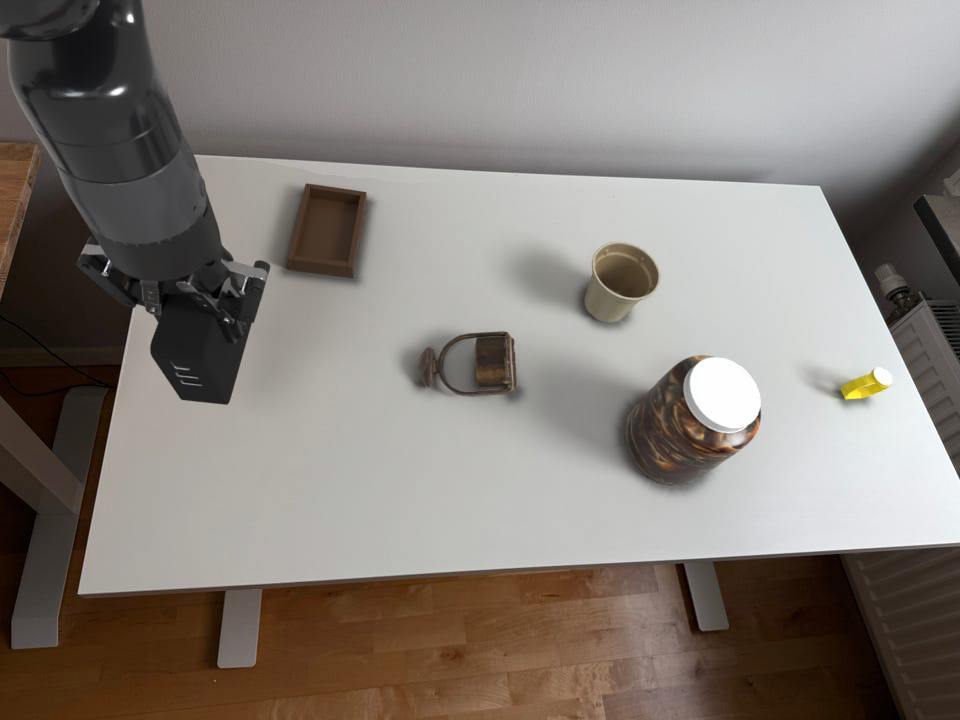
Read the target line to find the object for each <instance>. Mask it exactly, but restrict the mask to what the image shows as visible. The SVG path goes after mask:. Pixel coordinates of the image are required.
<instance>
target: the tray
mask: <svg viewBox="0 0 960 720" xmlns="http://www.w3.org/2000/svg"><path fill="white" fill-rule="evenodd" d="M367 195H368V193H367V191H361V190H356V189H350V188H343V187H335V186H328V185H322V184H316V183H315V184H314V183H308V182H306V183H305V184H304V189H303V193H302V197H301V201H300V204H299V209H298V212H297V216H296V220H295V223H294V229H293V232H292V237H291V240H290V245H289V247H288V248H289V249H288V251H287V256H286V262H287V267H288V271H293V272H300V273H310V274H316V275H325V276H333V277H341V278H349V279H354V277H355V271H356V266H357V260H358V253H359V249H360V244H361V238H362V232H363V226H364V221H365V216H366V211H367V205H368V199H367V197H368V196H367Z"/></svg>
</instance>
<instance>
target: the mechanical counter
mask: <svg viewBox="0 0 960 720" xmlns="http://www.w3.org/2000/svg"><path fill="white" fill-rule="evenodd" d="M470 339H475V343H474V344H475V346H474V363H475V365H474V367H475V379H476V383H477V387H478V389H479V390H477V391H464V390H463V391H462V390H459V389H456V388H455V387H453V386H452V385H451V384H450V383H449V382H448V380H447V379H446V377H445V374H444V371H443V370H444V369H443V368H444V359H445V357H446V355H447V352H448V351H449V350H450V348H451V347H453V346H454V345H455V344H457V343H458V342H461V341H464V340H470ZM516 363H517V362H516V352H515V339H514V338H513V337H512V336H511V335H510V333H509V332H508V331H502V330H501V331H483V332H467V333H463V334H460V335H458V336H456V337H454V338H452V339H451V340H449V341H448V342H447V343H446V344H445V345H444V347H443V348H442V349H441V351H440V354H439V357H438V358H437V360H436V354H435V349H434V347H431V346H427V347H426V348H425V349H424V350H423V351H422V353H421V355H420V357H419V361H418V372H419V377H420V379H421V382H422V383H423V385H424V386H425V387H427V388H429V389H431V388H433V387H434V386H435V379H436V374H438V375H439V379H440V380H441V381H442V383H443V385H444V386H445V387H446V388H447V389H448V390H449V391H451V392H452V393H454V394H456V395H458V396H462V397H481V396H482V397H483V396H498V395H499V396H500V395H509V394H511V393H515V391H516V386H517V368H516V366H517V365H516Z"/></svg>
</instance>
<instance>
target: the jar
mask: <svg viewBox="0 0 960 720" xmlns="http://www.w3.org/2000/svg"><path fill="white" fill-rule="evenodd" d="M761 405H762V402H761V394H760V391H759V387H758V385H757V383H756V381H755V380H754V379H753V377H752V376H751V374H750V373H749V372H748V371H747V370H746V369H745V368H744V367H743V366H741V365H740V364H738V363H737V362H735V361H733V360H731V359H729V358H726V357H722V356H721V357H720V356H713V355H705V354H703V355H702V354H700V355H694V356H688V357H686V358H684V359H682V360H680V361H679V362H677V363H676V364H675V365H674V366H673V367H671V368H670V369H669V370H668V371H667V372H665V374H664V375H663V376H662V377H661V378H660V379H659V380H658V381H657V382H656V383H655V384H654V385H653V386H652V388H651V389H650V390H648V391H647V393H646V394H645V395H644V396H643V397H642V398H641V399H640V400H639V401H638V402H637V404H636V405H635V406H634V407H633V408H632V409H631V411H630V412H629V414H628V416H627V417H626V421H625V425H624V432H623V435H624V436H623V437H624V442H625V443H624V444H625V447H626V450H627V452H628V454H629V457H630V458H631V461H632V462H633V463H634V464H635V466H636V467H637V468H638V470H639V471H641V473H643V474H644V475H645V476H646V477H648V478H649V479H651V480H652V481H654V482H656V483H659V484H662V485H666V486H672V487H673V486H675V487H677V486H678V487H679V486H684V485H688V484H690V483H692V482H694V481H696V480H698V479H699V478H701V477H702V476H704V475H705V474H707V473H709V472H710V471H712V470H714V469H715V468H716V467H718V466H720V465H721V464H722V463H724V462H726V461H727V460H729V459H730V458H732V457H733V456H734V455H736V454H737V453H739V452H740V451H741V450H743V449H744V448H745V447H747V445H749V444H750V442H751V441H752V440H753V439H754V438H755V437H756V435H757V433H758V431H759V428H760V425H761V419H762V408H761Z"/></svg>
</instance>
